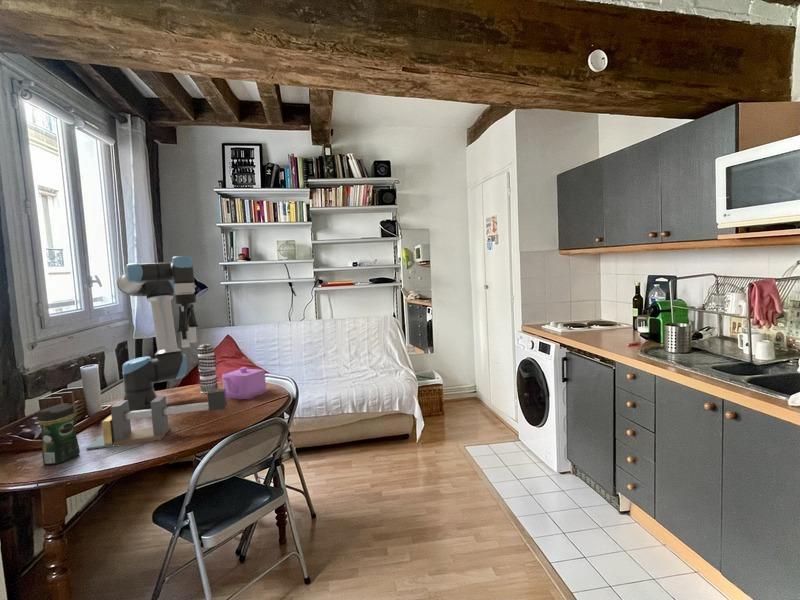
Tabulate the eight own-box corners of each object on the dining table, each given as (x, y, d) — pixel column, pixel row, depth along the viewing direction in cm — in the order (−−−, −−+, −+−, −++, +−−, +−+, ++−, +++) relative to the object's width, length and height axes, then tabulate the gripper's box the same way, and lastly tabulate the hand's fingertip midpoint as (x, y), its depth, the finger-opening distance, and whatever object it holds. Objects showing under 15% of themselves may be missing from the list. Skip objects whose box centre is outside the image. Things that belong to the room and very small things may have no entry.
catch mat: (101, 437, 162) (101, 435, 162) (125, 434, 164) (125, 432, 164) (86, 450, 151) (86, 448, 151) (112, 446, 153) (112, 444, 153)
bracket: (124, 434, 164) (121, 399, 163) (170, 428, 168) (167, 394, 167) (112, 446, 153) (108, 408, 152) (161, 439, 157) (157, 402, 156)
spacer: (115, 434, 163) (113, 412, 162) (123, 433, 163) (120, 412, 163) (104, 444, 153) (101, 421, 152) (112, 443, 153) (109, 420, 153)
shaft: (125, 418, 160) (123, 400, 160) (226, 405, 169) (225, 388, 169) (121, 421, 157) (119, 403, 156) (225, 408, 165) (223, 391, 165)
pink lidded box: (212, 402, 203) (210, 373, 202) (250, 388, 225) (248, 362, 224) (236, 404, 196) (234, 375, 196) (272, 389, 219) (270, 363, 218)
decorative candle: (207, 394, 216) (202, 346, 215) (196, 393, 221) (191, 345, 219) (222, 390, 224) (218, 343, 223) (211, 388, 229) (207, 342, 227)
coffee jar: (66, 452, 149) (61, 401, 148) (84, 453, 147) (78, 401, 146) (37, 465, 140) (31, 410, 139) (55, 466, 138) (49, 410, 137)
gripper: (188, 294, 163) (192, 348, 165) (201, 292, 187) (205, 339, 189) (166, 295, 161) (171, 350, 163) (182, 293, 186) (187, 341, 187)
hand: (189, 344), depth 176 cm, fingers open, 13 cm apart
